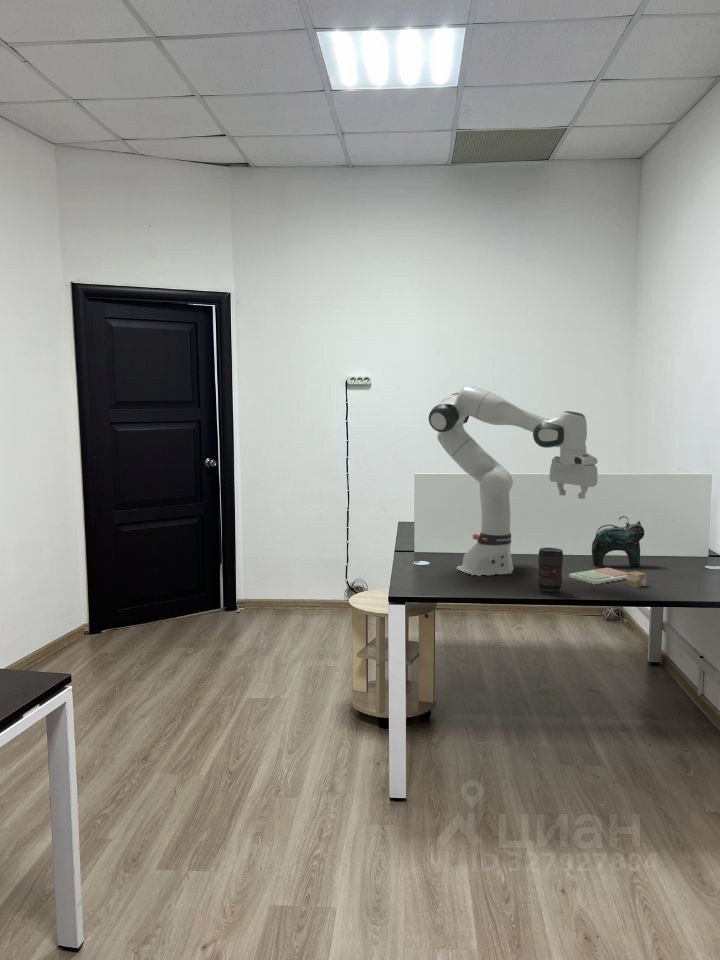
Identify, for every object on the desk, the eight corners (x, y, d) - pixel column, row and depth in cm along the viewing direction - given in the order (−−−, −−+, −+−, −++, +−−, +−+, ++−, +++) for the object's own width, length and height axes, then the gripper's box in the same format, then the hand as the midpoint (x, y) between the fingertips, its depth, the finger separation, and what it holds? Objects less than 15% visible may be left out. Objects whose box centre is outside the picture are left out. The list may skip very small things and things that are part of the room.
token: (636, 587, 256) (637, 575, 255) (626, 585, 260) (626, 572, 259) (645, 586, 258) (646, 573, 257) (635, 583, 262) (635, 571, 261)
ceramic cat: (639, 564, 291) (641, 515, 288) (645, 568, 284) (647, 517, 282) (589, 564, 291) (591, 515, 289) (594, 568, 285) (596, 517, 282)
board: (595, 584, 260) (595, 580, 259) (569, 576, 271) (569, 572, 271) (634, 578, 269) (635, 573, 269) (607, 570, 280) (608, 566, 280)
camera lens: (565, 594, 247) (566, 551, 245) (542, 595, 246) (543, 552, 244) (557, 588, 255) (558, 546, 253) (534, 589, 254) (535, 547, 252)
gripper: (545, 456, 263) (544, 494, 264) (587, 460, 244) (586, 501, 246) (559, 455, 265) (558, 492, 267) (601, 459, 247) (599, 499, 249)
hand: (571, 496), depth 256 cm, fingers open, 8 cm apart
